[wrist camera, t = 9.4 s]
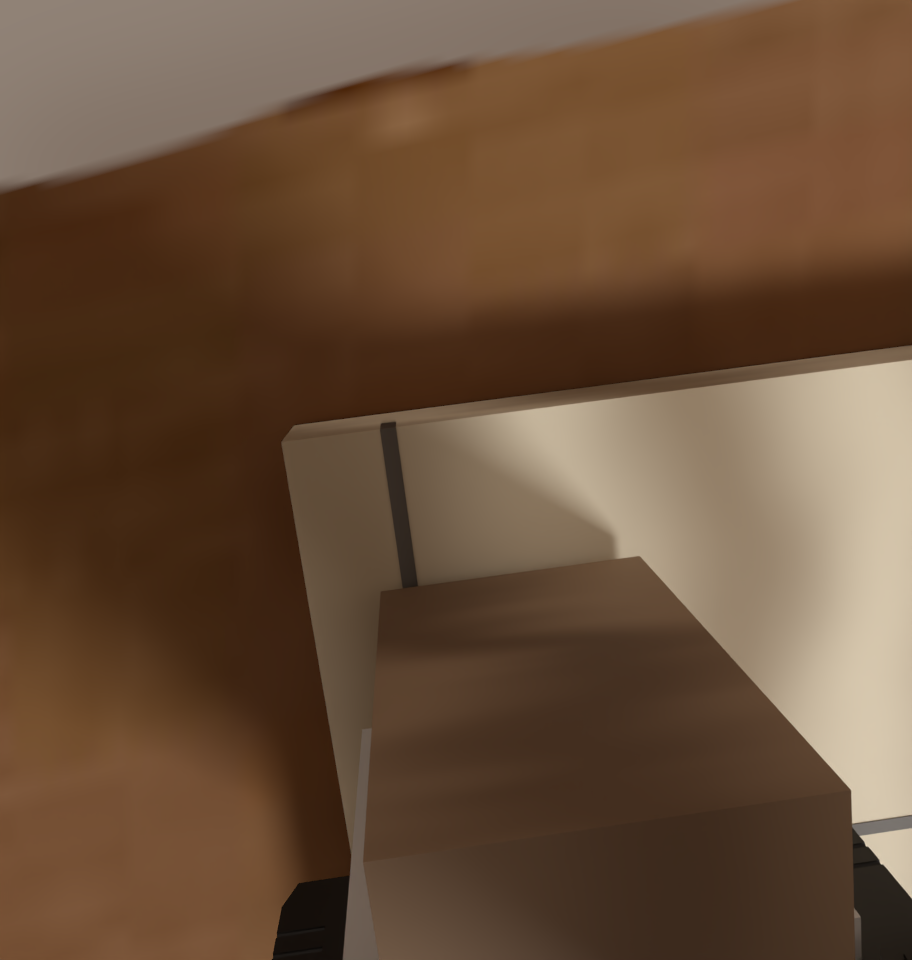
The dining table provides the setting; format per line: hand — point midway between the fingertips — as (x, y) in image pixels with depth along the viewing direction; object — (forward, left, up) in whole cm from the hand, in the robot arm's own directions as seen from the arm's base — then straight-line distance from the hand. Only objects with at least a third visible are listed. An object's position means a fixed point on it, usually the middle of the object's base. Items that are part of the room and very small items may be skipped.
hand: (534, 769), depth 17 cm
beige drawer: (0, 0, 0) cm, 0 cm away
